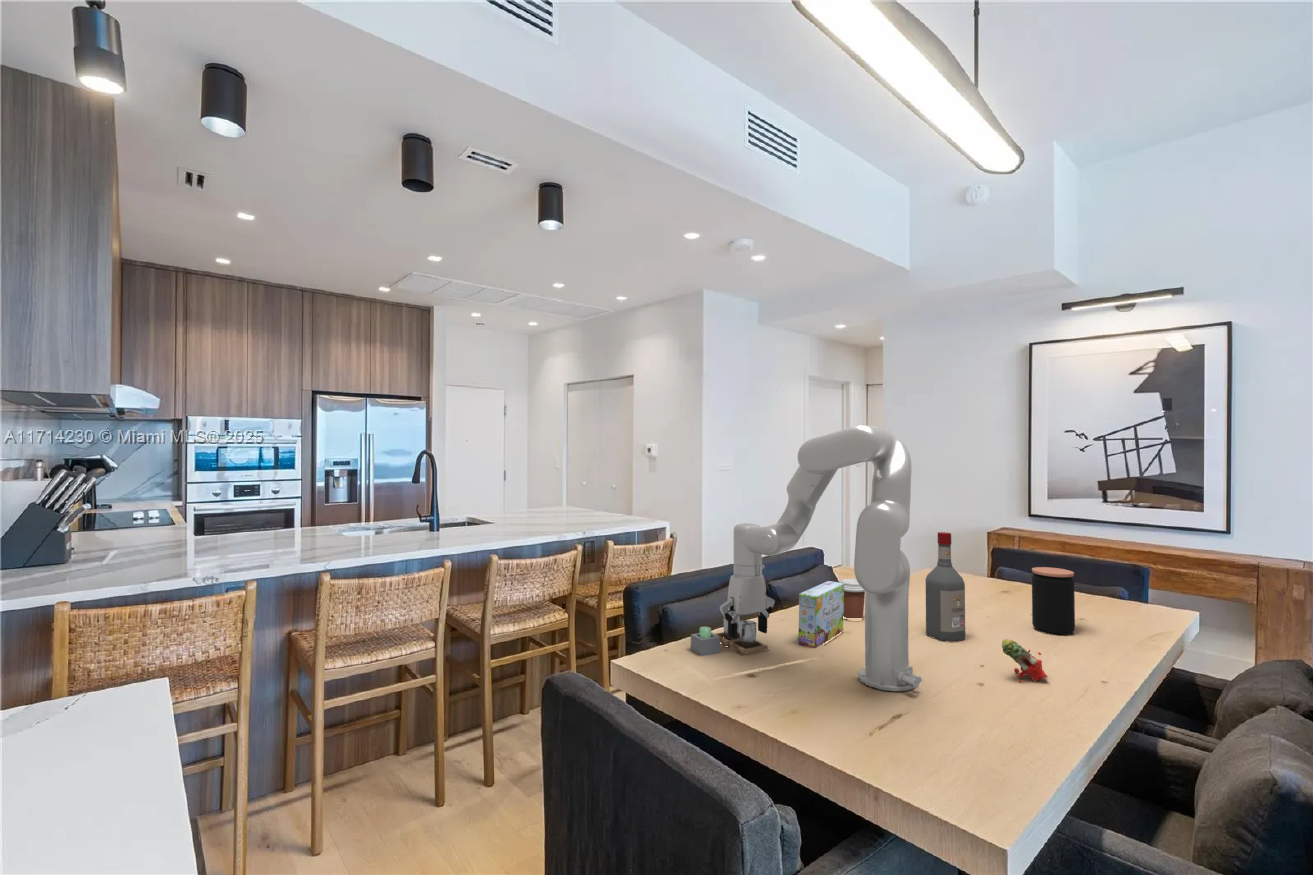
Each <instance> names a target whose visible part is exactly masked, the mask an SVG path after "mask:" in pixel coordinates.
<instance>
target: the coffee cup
mask: <svg viewBox="0 0 1313 875" xmlns="http://www.w3.org/2000/svg"><path fill="white" fill-rule="evenodd" d="M840 583H844V615H843V616H844V617H846V618H863V619H864V613H865V592H866V590H864V589H863V588H862V587H861V586H860V585H859V583H858V582H857V580H856V578H844V579H841V580H840Z"/></svg>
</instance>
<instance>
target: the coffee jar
mask: <svg viewBox="0 0 1313 875" xmlns="http://www.w3.org/2000/svg"><path fill="white" fill-rule="evenodd" d="M1031 571H1032V574H1033V575H1032V576H1031V617H1032V621H1031V622H1032V626H1033V628H1034V629H1035V630H1036V631H1038V632H1040V633H1044V634H1047V635H1052V636H1053V635H1054V636H1063V637H1064V636H1071V635H1072V634H1074V632H1075V631H1076V614H1075V613H1076V609H1075V605H1076V604H1075V603H1076V602H1075V599H1076V598H1075V580H1074V579H1073V577H1074V576H1075V572H1074V571H1073V570H1072V571H1071V570H1068V569H1065V568H1059V567H1058V568H1057V567H1049V566H1048V567H1047V566H1043V567H1042V566H1041V567H1040V566H1037V567H1036V566H1035V567H1032V568H1031Z"/></svg>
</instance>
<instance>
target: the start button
mask: <svg viewBox="0 0 1313 875" xmlns="http://www.w3.org/2000/svg"><path fill="white" fill-rule="evenodd" d="M699 633H700V637H701V638H703V639H704V638H710V637H711V633H712V628H711V627H709V626H700V627H699Z"/></svg>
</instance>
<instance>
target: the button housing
mask: <svg viewBox="0 0 1313 875" xmlns="http://www.w3.org/2000/svg"><path fill="white" fill-rule="evenodd" d="M715 634H716V633H712V632H711V637H710V638H704V639H703V638H701V637H700V632H698V633H691V634H690V650H691V651H692V652H694V653H696V654H697V655H699V656H701V657H705V656H710V655H714V654H720V653H721V645H720V637H719V636H717V635H715Z"/></svg>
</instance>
